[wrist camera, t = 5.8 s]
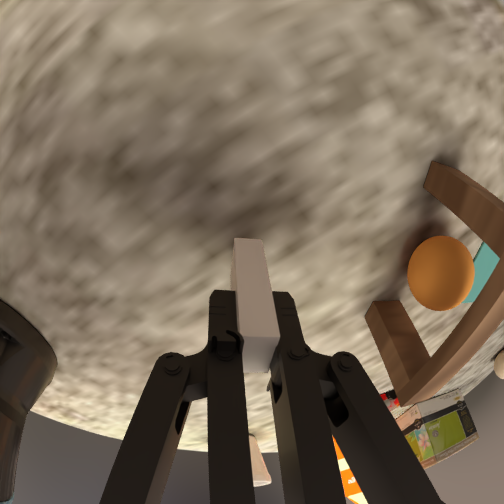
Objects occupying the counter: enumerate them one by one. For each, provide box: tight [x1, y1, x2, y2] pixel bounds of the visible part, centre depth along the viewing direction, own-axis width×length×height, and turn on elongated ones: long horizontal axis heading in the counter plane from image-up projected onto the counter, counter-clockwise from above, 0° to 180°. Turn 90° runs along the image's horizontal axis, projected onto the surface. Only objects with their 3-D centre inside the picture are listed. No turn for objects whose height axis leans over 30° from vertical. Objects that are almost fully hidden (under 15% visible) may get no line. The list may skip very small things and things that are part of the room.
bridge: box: [365, 161, 504, 407], centre depth 16 cm, size 3×14×9 cm, turn 173°
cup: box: [249, 434, 271, 487], centre depth 37 cm, size 10×10×9 cm
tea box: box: [395, 389, 479, 469], centre depth 41 cm, size 15×10×15 cm, turn 81°
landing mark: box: [461, 241, 500, 303], centre depth 21 cm, size 12×12×1 cm
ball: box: [407, 236, 475, 311], centre depth 17 cm, size 6×6×6 cm
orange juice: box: [333, 437, 368, 504], centre depth 39 cm, size 8×9×20 cm
